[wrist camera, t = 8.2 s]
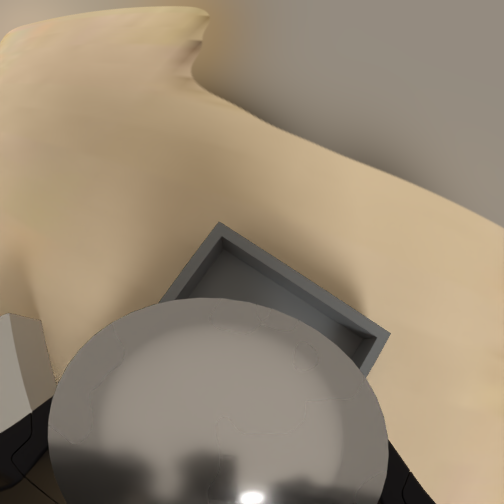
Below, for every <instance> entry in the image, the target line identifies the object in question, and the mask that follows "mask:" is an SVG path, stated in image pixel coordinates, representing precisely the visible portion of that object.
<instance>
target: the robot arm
mask: <svg viewBox="0 0 504 504" xmlns="http://www.w3.org/2000/svg"><path fill="white" fill-rule="evenodd" d="M53 396H54V395H53ZM53 396H52V397H50V398H49V399H48V400H46V401H45V402H44V403H42V404H41V405H40V406H38V407H37V408H36V409H34V410H33V411H32V413H29V414H28V415H26V416H25V417H24V418H22V419H21V420H19V421H18V422H17V423H15V424H14V425H12V426H11V427H9V428H7V429H6V430H4V431H3V432H1V433H0V504H67V502H66V500H65V499H64V497H63V495H62V493H61V491H60V488H59V486H58V483H57V481H56V478H55V475H54V472H53V468H52V464H51V460H50V454H49V445H48V420H49V414H50V408H51V403H52V399H53ZM388 452H389V457H388V466H387V475H386V479H385V483H384V486H383V490H382V493H381V496H380V498H379V500H378V503H377V504H436V503H435V502H434V501H433V500H432V499H431V497H430V496H429V495H428V494H427V493H426V491H425V490H424V489H423V488H422V486H421V485H420V484H419V482H418V481H417V479H416V478H415V477H414V475H413V474H412V472H410V470H409V468H408V467H407V465H406V464H405V463H404V461H403V460H402V458H401V457H400V455H399V454H398V453H397V451H396V450H395V448H394V447H393V445H392V444H391V443H390V441H389V440H388Z"/></svg>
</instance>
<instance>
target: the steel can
mask: <svg viewBox="0 0 504 504" xmlns="http://www.w3.org/2000/svg"><path fill="white" fill-rule="evenodd" d="M48 445H49V454H50V460H51V464H52V468H53V472H54V475H55V478H56V481H57V483H58V486H59V488H60V491H61V493H62V495H63V497H64V499H65V500H66V502H67V504H377V503H378V500H379V498H380V496H381V493H382V490H383V486H384V483H385V479H386V475H387V466H388V457H389V452H388V435H387V430H386V425H385V420H384V416H383V413H382V411H381V408H380V405H379V402H378V400H377V397H376V395H375V394H374V392H373V390H372V388H371V386H370V385H369V383H368V381H367V379H366V378H365V376H364V375H363V374H362V372H361V371H360V370H359V369H358V367H357V366H356V365H355V363H354V362H353V361H352V360H351V359H350V358H349V357H348V356H347V355H346V354H345V353H344V352H343V351H342V350H341V349H340V348H339V347H338V346H337V345H336V344H334V343H333V342H332V341H331V340H329V339H328V338H327V337H325V336H324V335H323V334H321V333H320V332H319V331H317V330H315V329H314V328H312V327H310V326H308V325H307V324H305V323H303V322H301V321H300V320H298V319H296V318H294V317H291V316H289V315H286V314H284V313H282V312H279V311H277V310H274V309H271V308H268V307H264V306H260V305H257V304H253V303H250V302H244V301H237V300H231V299H224V298H191V299H180V300H173V301H168V302H164V303H159V304H154V305H151V306H148V307H145V308H143V309H140V310H137V311H134V312H131V313H129V314H127V315H126V316H124V317H122V318H120V319H118V320H116V321H114V322H112V323H111V324H109V325H108V326H106V327H105V328H104V329H102V330H101V331H100V332H98V333H97V334H95V335H94V336H93V337H92V338H91V339H90V340H89V341H88V342H87V343H86V344H85V345H84V346H83V347H82V348H81V349H80V350H79V351H78V352H77V354H76V355H75V356H74V358H73V359H72V360H71V362H70V363H69V364H68V366H67V368H66V369H65V371H64V373H63V375H62V377H61V379H60V380H59V382H58V385H57V388H56V391H55V393H54V396H53V399H52V403H51V408H50V414H49V420H48Z"/></svg>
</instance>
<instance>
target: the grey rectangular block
mask: <svg viewBox="0 0 504 504" xmlns="http://www.w3.org/2000/svg"><path fill="white" fill-rule="evenodd" d="M56 388H57V384H56V381H55V377H54V374H53V370H52V366H51V363H50V359H49V355H48V351H47V346H46V342H45V337H44V333H43V328H42V323H41V320H37V319H33V318H28V317H24V316H20V315H16V314H12V313H7V314H5V315H2V316H0V433H1V432H3V431H4V430H6V429H7V428H9V427H11V426H12V425H14V424H15V423H17V422H18V421H19V420H21V419H22V418H24V417H25V416H26V415H28V414H29V413H32V411H33V410H34V409H36V408H37V407H38V406H40V405H41V404H42V403H44V402H45V401H46V400H48V399H49V398H50V397H52V396H53V395H54V393H55V391H56Z"/></svg>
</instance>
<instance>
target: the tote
mask: <svg viewBox="0 0 504 504" xmlns="http://www.w3.org/2000/svg"><path fill="white" fill-rule="evenodd" d="M191 298H224V299H231V300H237V301H244V302H250V303H253V304H257V305H260V306H264V307H268V308H271V309H274V310H277V311H279V312H282V313H284V314H286V315H289V316H291V317H294V318H296V319H298V320H300V321H301V322H303V323H305V324H307V325H308V326H310V327H312V328H314V329H315V330H317V331H319V332H320V333H321V334H323V335H324V336H325V337H327V338H328V339H329V340H331V341H332V342H333V343H334V344H336V345H337V346H338V347H339V348H340V349H341V350H342V351H343V352H344V353H345V354H346V355H347V356H348V357H349V358H350V359H351V360H352V361H353V362H354V363H355V365H356V366H357V367H358V369H359V370H360V371H361V372H362V374H363V375H364V376H365V378H366V377H367V375H368V374H369V372H370V370H371V368H372V367H373V365H374V363H375V361H376V360H377V358H378V356H379V354H380V352H381V351H382V349H383V347H384V345H385V343H386V341H387V340H388V338H389V336H390V334H391V333H390V332H388V331H387V330H385V329H383V328H382V327H380V326H379V325H377V324H376V323H374V322H373V321H371V320H370V319H368V318H367V317H365V316H364V315H362V314H361V313H359V312H358V311H356V310H355V309H353V308H352V307H350V306H348V305H347V304H345V303H344V302H342V301H341V300H339V299H338V298H336V297H335V296H333V295H332V294H330V293H329V292H327V291H326V290H324V289H323V288H321V287H319V286H318V285H316V284H315V283H313V282H312V281H310V280H309V279H307V278H306V277H304V276H303V275H301V274H300V273H298V272H296V271H295V270H293V269H292V268H290V267H289V266H287V265H286V264H284V263H283V262H281V261H280V260H278V259H276V258H275V257H273V256H272V255H270V254H269V253H267V252H266V251H264V250H263V249H261V248H259V247H258V246H256V245H255V244H253V243H252V242H250V241H249V240H247V239H246V238H244V237H242V236H241V235H239V234H238V233H236V232H235V231H233V230H232V229H230V228H228V227H227V226H225V225H224V224H222V223H221V222H218V224H217V225H216V226H215V227H214V229H213V230H212V231H211V233H210V234H209V235H208V237H207V238H206V239H205V241H204V242H203V243H202V245H201V246H200V247H199V249H198V250H197V251H196V253H195V254H194V255H193V257H192V258H191V259H190V261H189V262H188V263H187V265H186V266H185V268H184V269H183V270H182V272H181V273H180V274H179V276H178V277H177V278H176V280H175V281H174V283H173V284H172V285H171V287H170V288H169V289H168V291H167V292H166V294H165V295H164V296H163V298H162V299H161V300H160V302H159V303H164V302H168V301H173V300H180V299H191ZM159 303H158V304H159Z"/></svg>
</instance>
